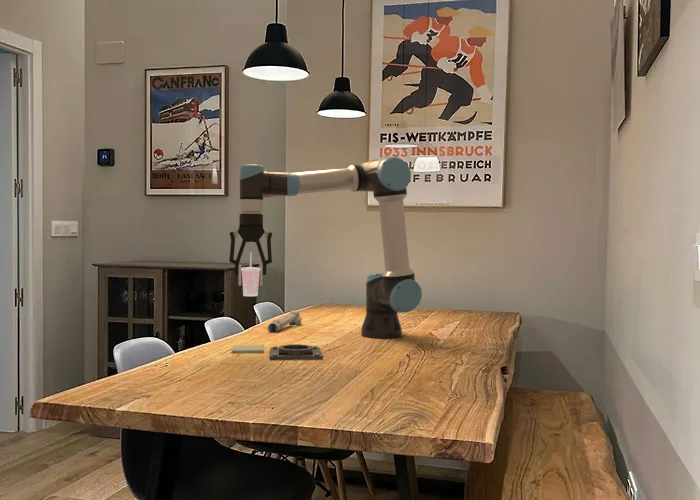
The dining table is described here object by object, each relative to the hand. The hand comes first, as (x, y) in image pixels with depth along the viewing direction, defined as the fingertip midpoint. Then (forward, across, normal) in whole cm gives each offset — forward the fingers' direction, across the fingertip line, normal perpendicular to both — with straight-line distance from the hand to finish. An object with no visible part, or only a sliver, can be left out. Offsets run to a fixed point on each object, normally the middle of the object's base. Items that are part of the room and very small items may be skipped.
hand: (250, 285), depth 223 cm
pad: (+21, +1, -1) cm, 21 cm away
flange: (+21, -14, +9) cm, 27 cm away
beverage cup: (+4, 0, 0) cm, 4 cm away
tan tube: (+22, -13, -49) cm, 55 cm away
